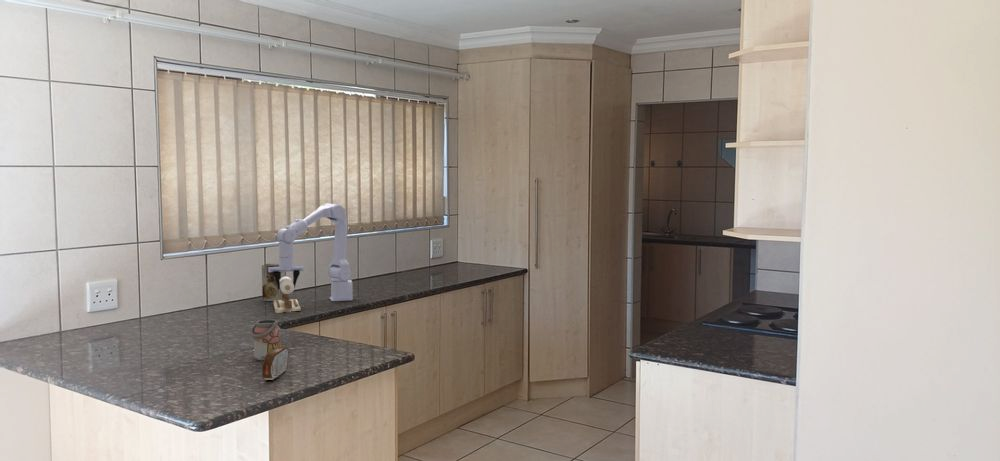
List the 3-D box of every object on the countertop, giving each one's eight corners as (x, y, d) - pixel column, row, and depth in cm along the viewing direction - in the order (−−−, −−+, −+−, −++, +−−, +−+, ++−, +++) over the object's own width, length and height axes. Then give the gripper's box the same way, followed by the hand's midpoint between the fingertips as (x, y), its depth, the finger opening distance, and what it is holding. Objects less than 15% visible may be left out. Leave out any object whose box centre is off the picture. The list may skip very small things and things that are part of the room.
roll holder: (296, 302, 325) (296, 292, 325) (300, 311, 306) (300, 301, 306) (273, 303, 322) (273, 293, 321) (275, 313, 303) (275, 302, 302)
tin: (280, 369, 224) (280, 342, 223) (290, 369, 224) (290, 342, 223) (261, 384, 209) (260, 355, 208) (271, 384, 209) (271, 356, 208)
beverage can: (263, 364, 229) (262, 326, 228) (245, 359, 233) (244, 322, 232) (286, 357, 237) (285, 321, 236) (268, 353, 241) (268, 317, 240)
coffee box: (286, 298, 333) (286, 263, 331) (281, 301, 327) (280, 265, 325) (267, 298, 334) (267, 263, 332) (261, 300, 328) (261, 265, 326)
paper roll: (292, 288, 320) (292, 276, 320) (294, 294, 308) (294, 280, 308) (278, 289, 318) (278, 276, 318) (280, 294, 306) (280, 281, 306)
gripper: (268, 258, 306) (269, 290, 307) (304, 257, 311) (304, 289, 312) (267, 256, 312) (268, 287, 313) (303, 255, 317) (303, 286, 318)
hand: (286, 288), depth 313 cm, fingers closed on paper roll, 6 cm apart
